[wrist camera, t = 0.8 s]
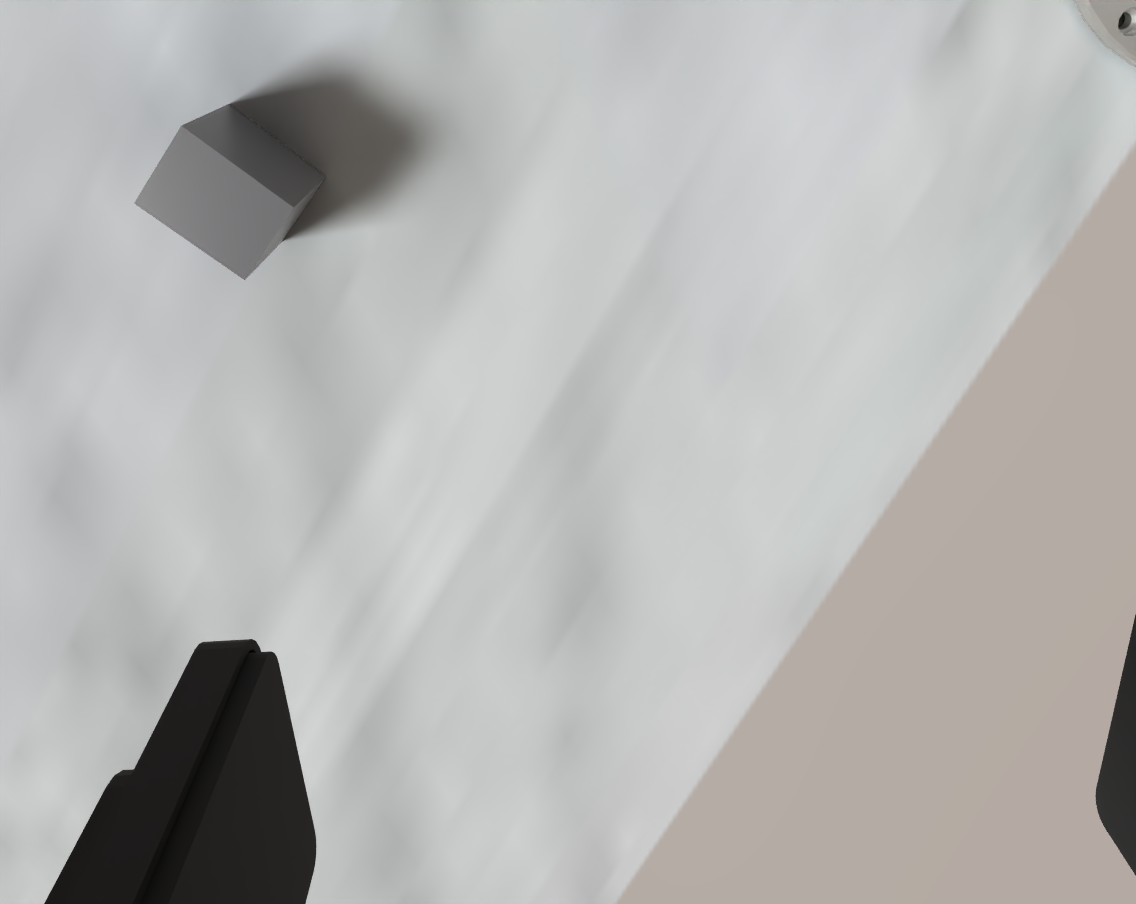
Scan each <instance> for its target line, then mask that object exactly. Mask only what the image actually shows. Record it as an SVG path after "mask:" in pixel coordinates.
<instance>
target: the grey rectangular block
mask: <svg viewBox="0 0 1136 904" xmlns="http://www.w3.org/2000/svg"><path fill="white" fill-rule="evenodd" d="M325 178H326V176H325V175H323V174H322V173H321V172H319V171H318V170H317V169H315V168H314V167H313V166H311V165H310V164H309V163H307V162H306V161H305V160H303V159H302V158H301V157H299V156H298V155H297V154H295V153H294V152H293V151H291V150H290V149H288V148H287V147H286V146H284V145H283V144H282V143H280V142H279V141H278V140H276V139H275V138H274V137H272V136H271V135H270V134H268V133H267V132H266V131H264V130H263V129H262V128H260V127H259V126H258V125H256V124H255V123H254V122H252V121H251V120H250V119H248V118H247V117H246V116H244V115H243V114H242V113H240V112H239V111H238V110H236V109H235V108H234V107H232V106H231V105H230V104H228V105H226V106H224V107H221V108H219V109H217V110H215V111H213V112H210V113H208V114H206V115H204V116H202V117H200V118H197V119H195V120H193V121H191V122H189V123H186V124H184V125H182V126H181V127H180V129H179V131H178V132H177V134H176V136H175V137H174V139H173V140H172V142H171V144H170V145H169V147H168V149H167V150H166V152H165V154H164V155H163V157H162V159H161V160H160V162H159V163H158V165H157V167H156V168H155V170H154V172H153V173H152V175H151V177H150V178H149V180H148V181H147V183H146V185H145V186H144V188H143V190H142V191H141V193H140V195H139V196H138V198H137V200H136V201H135V204H136V205H137V206H139V207H140V208H142V209H143V210H145V211H146V212H147V213H149V214H150V215H152V216H153V217H155V218H156V219H158V220H159V221H160V222H162V223H163V224H165V225H166V226H168V227H169V228H171V229H172V230H173V231H175V232H176V233H178V234H179V235H181V236H182V237H183V238H185V239H186V240H188V241H189V242H191V243H192V244H194V245H195V246H196V247H198V248H199V249H201V250H202V251H204V252H205V253H206V254H208V255H209V256H211V257H212V258H214V259H215V260H217V261H218V262H219V263H221V264H222V265H224V266H225V267H227V268H228V269H229V270H231V271H232V272H234V273H235V274H237V275H238V276H240V277H241V278H242V279H244V280H245V279H246V278H247V277H248V276H249V275H250V274H251V273H252V272H253V271H254V270H255V269H256V268H257V267H258V266H259V265H260V264H261V263H262V262H263V261H264V260H265V259H266V258H267V256H268V255H269V254H270V253H271V252H272V251H273V250H274V249H275V248H276V247H277V246H278V245H279V244H280V243H281V242H282V241H283V239H284V238H285V236H286V235H287V233H288V232H289V230H290V229H291V228H292V226H293V225H294V223H295V222H296V220H297V219H298V217H299V216H300V214H301V213H302V211H303V210H304V208H305V207H306V206H307V204H308V203H309V201H310V200H311V198H312V197H313V195H314V194H315V192H316V191H317V189H318V188H319V187H320V185H321V184H322V182H323V181H324V179H325Z"/></svg>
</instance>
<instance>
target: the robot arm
mask: <svg viewBox="0 0 1136 904" xmlns="http://www.w3.org/2000/svg"><path fill="white" fill-rule="evenodd" d="M1074 2H1075V4H1076V6H1077V8H1078V10H1079V12H1080V14H1081V16H1082V18H1083V20H1084V22H1085V23H1086V24H1087V25H1088V26H1089V27H1090V29H1091V30H1092V31H1093V32H1094V33H1095V35H1096V36H1097V37H1098V38H1099V39H1100V40H1101V42H1102V43H1103V44H1104V45H1105V46H1106V47H1107V48H1109V49H1110V50H1111V51H1113V52H1114V53H1115V54H1117V55H1118V56H1120V57H1121V58H1122V59H1124V60H1125V61H1126V62H1128V63H1129V64H1131V65H1133V66H1135V67H1136V0H1074ZM1123 13H1124V15H1125V22H1124V23H1123V25H1122V26H1121V27H1119V28H1118V22H1119V18H1120V17H1121V15H1122V14H1123ZM1096 805H1097V809H1098V813H1099V816H1100V819H1101V821H1102V823H1103V825H1104V827H1105V828H1106V830H1107V832H1108V833H1109V835H1110V836H1111V838H1112V839H1113V841H1114V843H1115V844H1116V845H1117V847H1118V849H1119V850H1120V852H1121V853H1122V855H1123V857H1124V858H1125V859H1126V861H1127V863H1128V864H1129V866H1130V867H1131V869H1132V870H1133V872H1134V874H1135V875H1136V615H1135V620H1134V624H1133V629H1132V633H1131V637H1130V642H1129V646H1128V650H1127V655H1126V659H1125V664H1124V668H1123V672H1122V677H1121V681H1120V686H1119V690H1118V695H1117V699H1116V703H1115V708H1114V712H1113V717H1112V721H1111V726H1110V730H1109V735H1108V739H1107V743H1106V748H1105V752H1104V757H1103V761H1102V765H1101V770H1100V774H1099V779H1098V783H1097V788H1096ZM315 860H316V836H315V829H314V825H313V820H312V816H311V811H310V806H309V802H308V797H307V792H306V788H305V783H304V778H303V774H302V769H301V765H300V760H299V755H298V751H297V746H296V741H295V737H294V732H293V727H292V723H291V718H290V714H289V709H288V704H287V700H286V695H285V690H284V686H283V681H282V676H281V672H280V667H279V663H278V659H277V657H276V655H275V653H273V652H261V650H260V647H259V645H258V644H257V642H256V641H255V640H253V639H249V640H231V641H213V642H202V643H200V644H199V645H198V646H197V647H196V649H195V650H194V652H193V654H192V656H191V658H190V660H189V662H188V664H187V666H186V668H185V670H184V672H183V674H182V676H181V678H180V680H179V682H178V684H177V686H176V688H175V690H174V692H173V694H172V696H171V698H170V700H169V702H168V704H167V706H166V708H165V710H164V712H163V713H162V715H161V717H160V719H159V721H158V723H157V725H156V727H155V729H154V731H153V733H152V735H151V737H150V739H149V741H148V743H147V745H146V747H145V749H144V751H143V753H142V755H141V757H140V759H139V761H138V763H137V765H136V767H135V769H134V770H122V771H121V772H119V773H118V774H116V775H115V776H114V777H113V778H112V780H111V781H110V783H109V784H108V785H107V787H106V788H105V790H104V792H103V794H102V796H101V798H100V800H99V802H98V804H97V805H96V807H95V809H94V811H93V813H92V815H91V817H90V819H89V821H88V822H87V824H86V826H85V828H84V830H83V832H82V834H81V836H80V837H79V839H78V841H77V843H76V845H75V847H74V849H73V851H72V853H71V854H70V856H69V858H68V860H67V862H66V864H65V866H64V868H63V870H62V871H61V873H60V875H59V877H58V879H57V881H56V883H55V885H54V887H53V888H52V890H51V892H50V894H49V896H48V898H47V900H46V902H45V903H44V904H305V903H306V899H307V895H308V891H309V887H310V883H311V879H312V875H313V872H314V867H315Z"/></svg>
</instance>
